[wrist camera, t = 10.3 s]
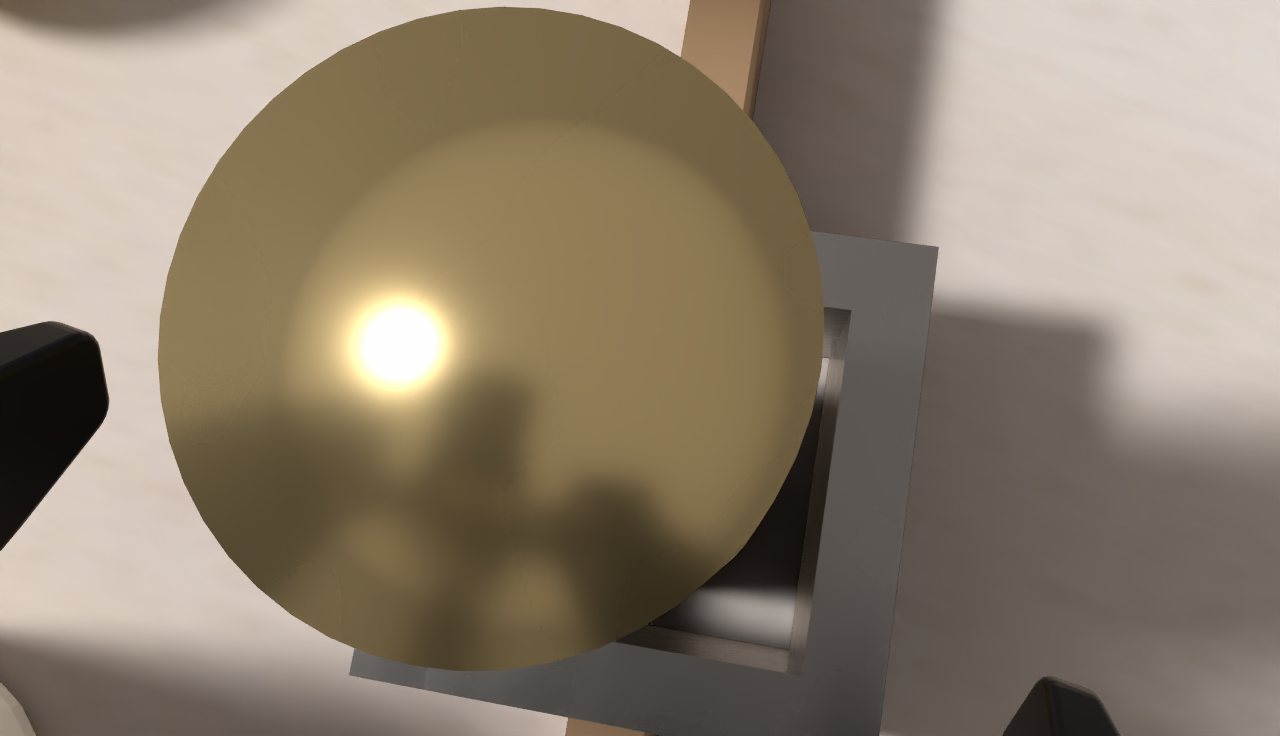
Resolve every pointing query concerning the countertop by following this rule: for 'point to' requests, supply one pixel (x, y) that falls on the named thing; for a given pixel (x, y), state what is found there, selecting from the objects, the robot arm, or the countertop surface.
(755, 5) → the hinge leaves
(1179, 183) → the countertop surface
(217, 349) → the hinge pin
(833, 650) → the gray square planter
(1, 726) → the mug
